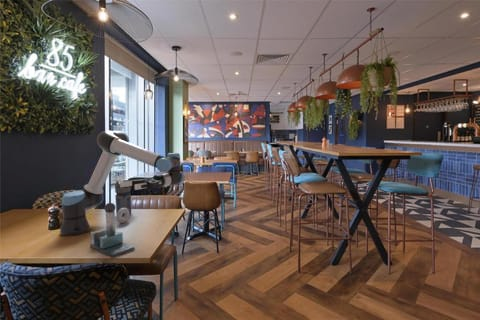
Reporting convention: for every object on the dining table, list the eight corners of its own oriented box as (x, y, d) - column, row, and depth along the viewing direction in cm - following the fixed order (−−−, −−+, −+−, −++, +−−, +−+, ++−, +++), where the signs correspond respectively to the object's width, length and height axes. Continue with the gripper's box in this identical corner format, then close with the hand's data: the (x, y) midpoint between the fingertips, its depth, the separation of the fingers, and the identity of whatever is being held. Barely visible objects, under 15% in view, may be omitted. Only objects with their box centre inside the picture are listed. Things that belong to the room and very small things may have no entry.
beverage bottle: (136, 212, 200) (135, 179, 198) (123, 217, 188) (121, 182, 186) (126, 211, 204) (124, 178, 202) (112, 215, 191) (110, 181, 189)
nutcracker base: (90, 246, 136) (89, 232, 135) (111, 240, 145) (110, 226, 144) (112, 257, 123) (111, 241, 122) (134, 249, 132) (133, 234, 131)
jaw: (99, 246, 131) (96, 204, 129) (118, 240, 139) (116, 200, 137) (104, 249, 128) (102, 205, 126) (123, 242, 136) (122, 201, 134)
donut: (119, 225, 170) (119, 210, 169) (115, 224, 171) (114, 209, 170) (131, 220, 179) (130, 206, 178) (127, 220, 180) (126, 205, 179)
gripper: (175, 189, 149) (141, 195, 132) (148, 185, 164) (115, 190, 147) (175, 175, 148) (141, 180, 131) (148, 172, 163) (114, 177, 146)
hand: (127, 186), depth 139 cm, fingers open, 13 cm apart
